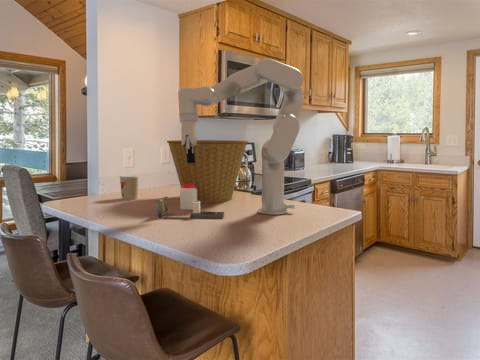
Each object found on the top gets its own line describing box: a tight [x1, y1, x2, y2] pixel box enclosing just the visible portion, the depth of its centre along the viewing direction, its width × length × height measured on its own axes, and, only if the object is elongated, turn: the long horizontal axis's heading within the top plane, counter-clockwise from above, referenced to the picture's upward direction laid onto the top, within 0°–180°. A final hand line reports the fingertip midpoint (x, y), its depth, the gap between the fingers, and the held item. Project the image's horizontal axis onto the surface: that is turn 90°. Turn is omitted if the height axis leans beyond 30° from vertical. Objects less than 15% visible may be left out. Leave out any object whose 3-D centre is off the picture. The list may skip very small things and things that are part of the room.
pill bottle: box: [179, 183, 197, 210], centre depth 175 cm, size 8×8×11 cm
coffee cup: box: [119, 174, 139, 201], centre depth 198 cm, size 9×9×12 cm
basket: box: [166, 139, 250, 204], centre depth 200 cm, size 42×42×30 cm
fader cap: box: [192, 201, 201, 213], centre depth 156 cm, size 2×4×5 cm, turn 176°
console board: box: [190, 210, 225, 220], centre depth 157 cm, size 13×6×2 cm, turn 86°
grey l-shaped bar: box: [157, 199, 188, 220], centre depth 152 cm, size 12×1×8 cm, turn 86°
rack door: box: [160, 196, 169, 216], centre depth 159 cm, size 10×1×6 cm, turn 177°
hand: (191, 162), depth 161 cm, fingers closed
